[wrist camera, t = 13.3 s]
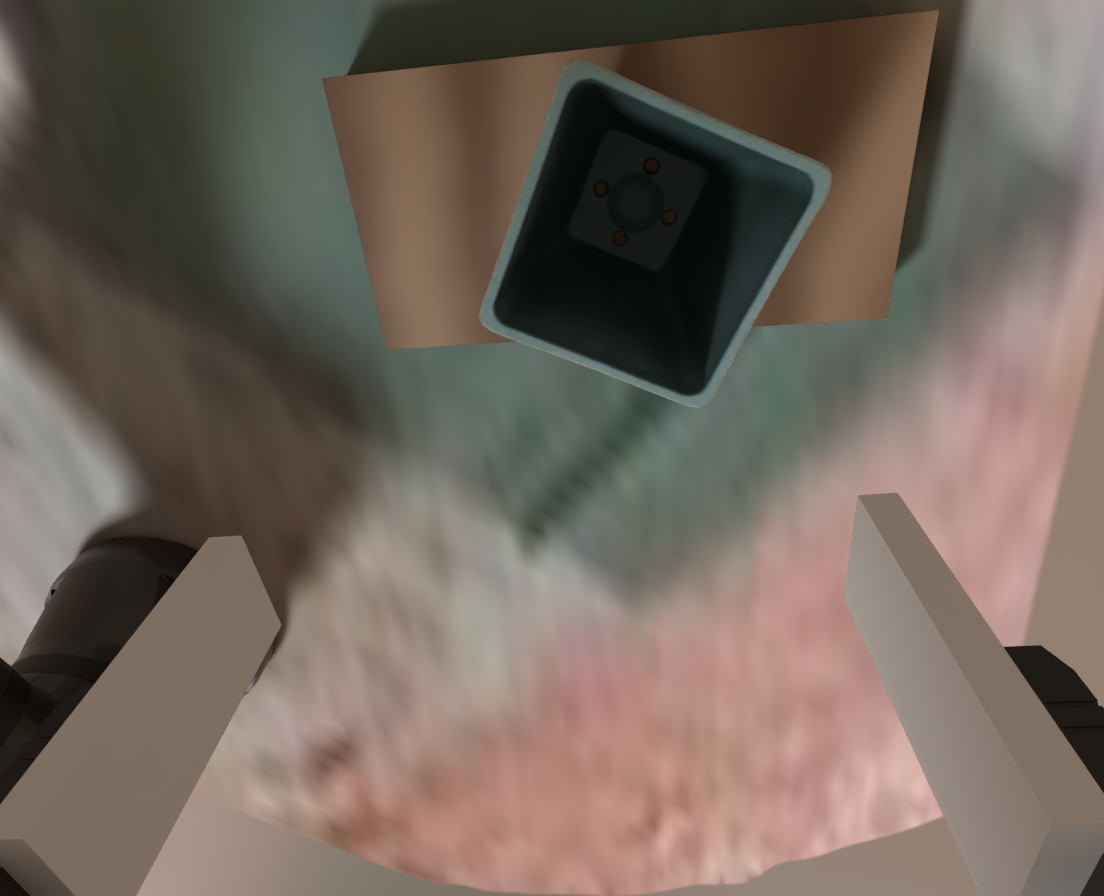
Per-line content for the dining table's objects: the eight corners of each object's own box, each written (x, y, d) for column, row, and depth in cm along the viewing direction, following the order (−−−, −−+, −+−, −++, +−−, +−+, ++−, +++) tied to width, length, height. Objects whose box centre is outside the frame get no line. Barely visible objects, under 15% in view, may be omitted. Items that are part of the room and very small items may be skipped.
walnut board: (402, 327, 36) (386, 349, 34) (346, 75, 30) (322, 78, 28) (866, 296, 34) (887, 317, 31) (908, 12, 27) (939, 9, 25)
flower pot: (578, 46, 26) (565, 50, 19) (778, 135, 27) (843, 172, 20) (507, 255, 31) (473, 326, 23) (681, 324, 32) (704, 414, 24)
